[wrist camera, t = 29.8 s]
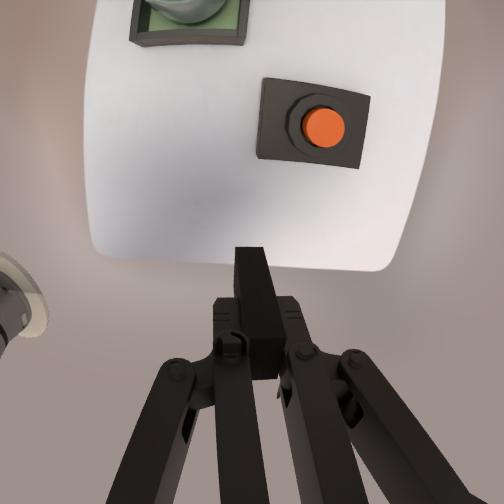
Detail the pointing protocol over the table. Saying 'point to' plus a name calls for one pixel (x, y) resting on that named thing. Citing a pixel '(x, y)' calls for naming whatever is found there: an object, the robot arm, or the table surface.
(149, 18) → the tray
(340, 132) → the button
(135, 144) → the table surface
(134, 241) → the table surface
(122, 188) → the table surface
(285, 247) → the table surface
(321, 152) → the button box
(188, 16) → the cup
